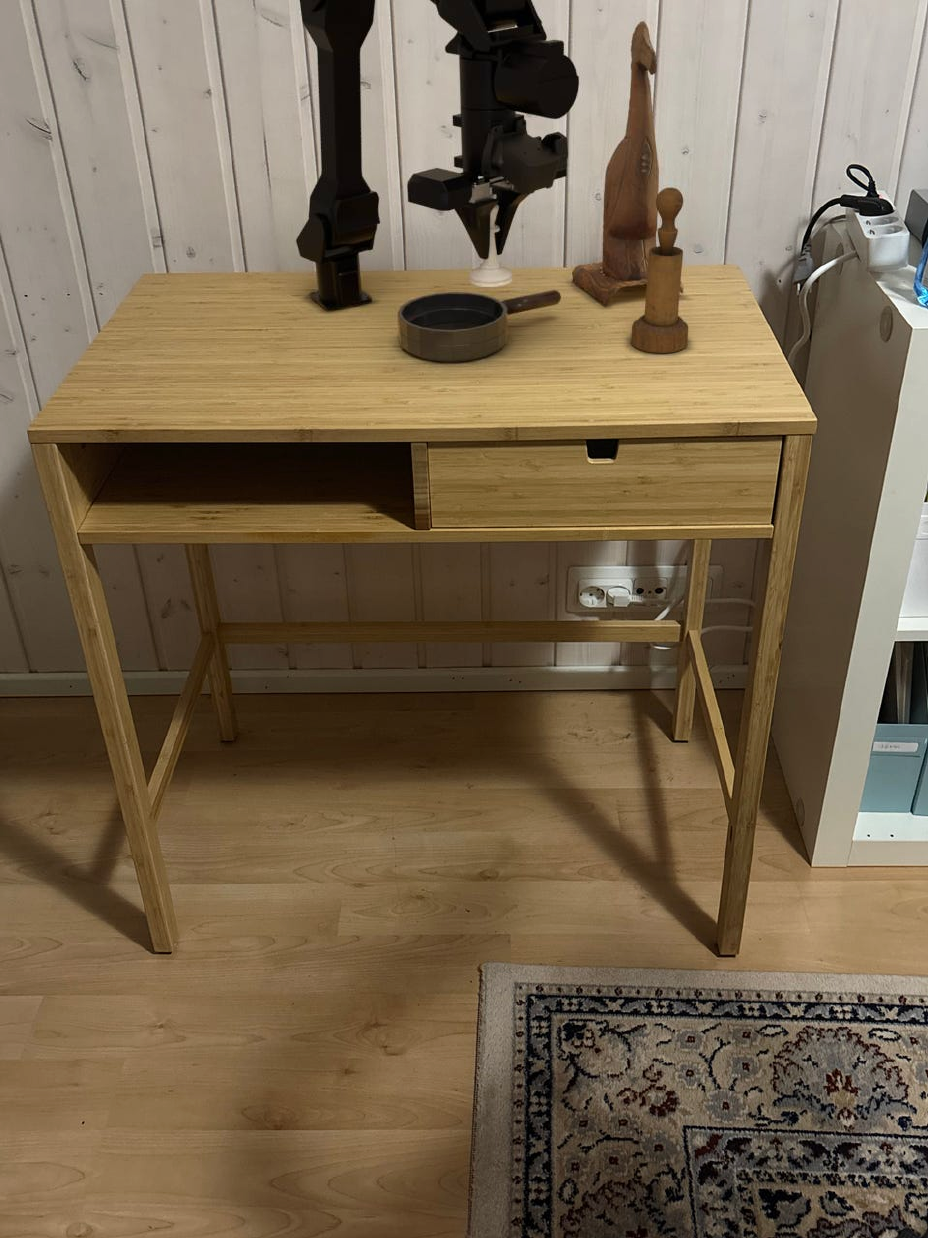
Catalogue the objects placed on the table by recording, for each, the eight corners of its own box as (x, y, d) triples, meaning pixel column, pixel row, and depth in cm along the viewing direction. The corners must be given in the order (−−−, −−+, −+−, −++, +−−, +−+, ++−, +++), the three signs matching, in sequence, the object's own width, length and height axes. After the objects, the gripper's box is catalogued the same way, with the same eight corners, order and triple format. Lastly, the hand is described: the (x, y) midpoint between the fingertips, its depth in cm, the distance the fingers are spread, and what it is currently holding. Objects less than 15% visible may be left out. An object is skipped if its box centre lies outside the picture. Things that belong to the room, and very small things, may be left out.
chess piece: (490, 269, 134) (489, 178, 128) (522, 278, 131) (521, 186, 125) (459, 280, 131) (456, 188, 125) (491, 290, 128) (489, 196, 122)
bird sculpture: (608, 310, 150) (621, 33, 132) (568, 282, 159) (576, 19, 141) (685, 297, 153) (708, 25, 135) (642, 270, 162) (658, 12, 144)
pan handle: (500, 319, 143) (500, 304, 142) (493, 314, 144) (492, 300, 143) (563, 305, 146) (563, 291, 145) (556, 300, 147) (556, 286, 146)
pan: (382, 335, 145) (380, 304, 143) (475, 316, 150) (474, 285, 147) (429, 372, 135) (427, 339, 133) (526, 349, 140) (527, 317, 138)
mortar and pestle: (685, 333, 143) (699, 180, 133) (688, 354, 138) (703, 196, 127) (630, 333, 144) (639, 180, 133) (631, 353, 138) (641, 196, 128)
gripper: (477, 132, 111) (480, 294, 119) (607, 99, 121) (602, 251, 130) (399, 116, 117) (408, 270, 126) (529, 86, 128) (529, 231, 137)
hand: (490, 256), depth 130 cm, fingers closed on chess piece
